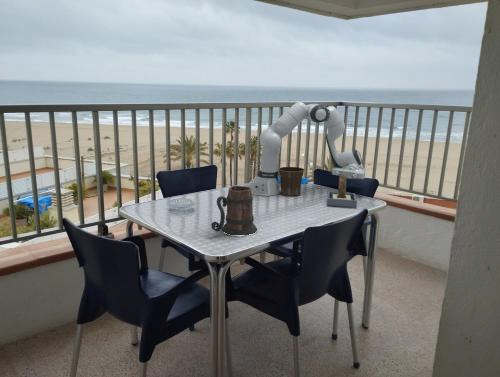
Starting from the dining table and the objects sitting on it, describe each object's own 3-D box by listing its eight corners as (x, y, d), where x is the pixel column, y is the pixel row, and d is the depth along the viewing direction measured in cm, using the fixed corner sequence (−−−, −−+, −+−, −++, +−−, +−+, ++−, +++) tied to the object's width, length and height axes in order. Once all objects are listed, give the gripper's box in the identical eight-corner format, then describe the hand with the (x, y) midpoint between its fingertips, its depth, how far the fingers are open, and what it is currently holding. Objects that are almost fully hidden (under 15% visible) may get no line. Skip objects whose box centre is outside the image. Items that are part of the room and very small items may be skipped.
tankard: (242, 221, 180) (243, 181, 174) (265, 231, 167) (266, 189, 162) (202, 231, 165) (201, 189, 160) (223, 243, 153) (223, 197, 147)
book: (267, 179, 253) (290, 174, 269) (266, 185, 254) (290, 179, 271) (285, 184, 241) (308, 178, 257) (285, 190, 242) (308, 183, 259)
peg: (337, 202, 210) (339, 175, 206) (337, 200, 213) (339, 174, 209) (344, 202, 209) (347, 176, 205) (344, 201, 213) (346, 174, 209)
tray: (327, 206, 205) (327, 198, 204) (327, 198, 221) (327, 191, 219) (356, 208, 202) (356, 200, 201) (354, 200, 217) (354, 193, 216)
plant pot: (277, 190, 239) (278, 166, 235) (301, 190, 238) (303, 166, 234) (278, 196, 223) (279, 171, 219) (304, 197, 222) (305, 171, 218)
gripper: (336, 164, 235) (328, 167, 224) (367, 169, 225) (361, 172, 214) (335, 174, 237) (327, 177, 225) (366, 178, 227) (360, 182, 215)
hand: (344, 175), depth 219 cm, fingers open, 8 cm apart
